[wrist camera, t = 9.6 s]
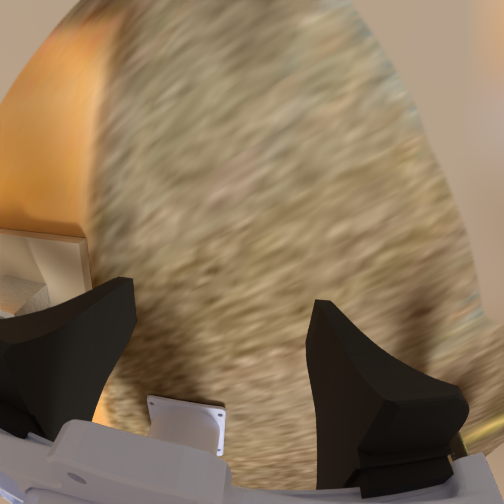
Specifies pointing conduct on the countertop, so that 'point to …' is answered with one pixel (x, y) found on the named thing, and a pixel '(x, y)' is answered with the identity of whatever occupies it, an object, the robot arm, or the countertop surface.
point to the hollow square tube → (22, 296)
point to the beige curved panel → (47, 262)
